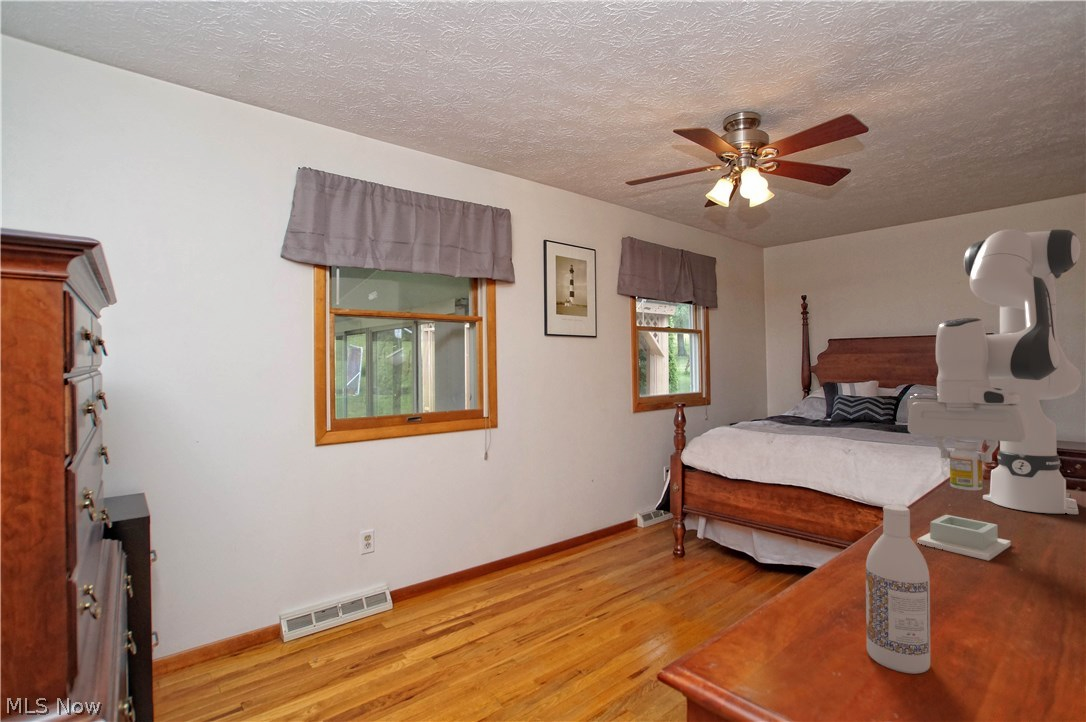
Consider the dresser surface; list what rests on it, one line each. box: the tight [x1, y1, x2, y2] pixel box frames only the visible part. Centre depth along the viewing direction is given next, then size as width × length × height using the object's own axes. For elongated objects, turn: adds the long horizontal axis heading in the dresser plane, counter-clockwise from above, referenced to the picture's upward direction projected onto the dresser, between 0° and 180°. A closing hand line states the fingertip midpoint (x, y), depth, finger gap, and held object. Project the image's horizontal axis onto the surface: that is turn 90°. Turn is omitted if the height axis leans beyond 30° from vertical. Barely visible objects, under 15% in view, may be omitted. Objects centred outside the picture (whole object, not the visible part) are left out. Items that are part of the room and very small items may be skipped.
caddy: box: [916, 514, 1012, 561], centre depth 111 cm, size 14×12×4 cm
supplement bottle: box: [949, 440, 984, 491], centre depth 111 cm, size 5×5×10 cm
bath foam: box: [865, 504, 931, 675], centre depth 69 cm, size 7×7×20 cm
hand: (966, 460), depth 111 cm, fingers closed on supplement bottle, 5 cm apart
